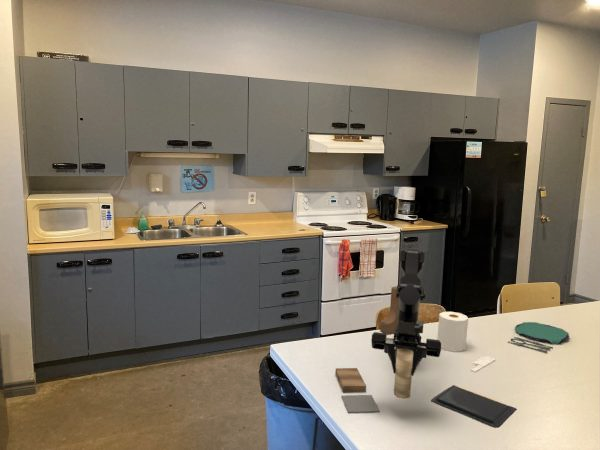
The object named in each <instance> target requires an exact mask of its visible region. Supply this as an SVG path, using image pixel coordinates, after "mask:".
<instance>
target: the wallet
mask: <svg viewBox="0 0 600 450" xmlns="http://www.w3.org/2000/svg"><path fill="white" fill-rule="evenodd" d="M430 402H431V403H433V404H436V405H438V406H440V407H443V408H446V409H447V410H450V411H453V412H456V413H458V414H459V415H460V414H461V415H462V416H465V417H466V418H468V419H469V418H470V419H472V420H475V421H477V422H478V423H481V424H484V425H486V426H489V427H491V428H494V429H497V428H500V427H501V426H502V425H504V423H505V422H506V421H507V420H508V419H509V418H510V417H511V416H512V415H513V414H514V413H515V412H516V411H517V410H518V408H516V407H514V406H512V405H509V404H506V403H504V402H501V401H498V400H496V399H493V398H489V397H487V396H485V395H483V394H479V393H476V392H474V391H471V390H468V389H466V388H463V387H461V386H457V385H455V384H453V385H452V386H449V387H448V388H446V389H444V390H443V391H442V392H440V393H438V394H437V395H436V396H434V397H433V398H432V399H431V400H430Z"/></svg>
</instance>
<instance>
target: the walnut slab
mask: <svg viewBox="0 0 600 450" xmlns="http://www.w3.org/2000/svg"><path fill="white" fill-rule="evenodd" d="M334 374H335V376H336V380H337V382H338V384H339V387H340V389H341V391H342V393H346V394H347V393H366V392H367V385H366V383H365V380H364V379H363V377H362V375H361V373H360V371H359V369H358V368H357V367H349V368H347V367H346V368H345V367H344V368H343V367H342V368H341V367H340V368H338V367H337V368H336V367H335V373H334Z"/></svg>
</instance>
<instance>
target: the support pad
mask: <svg viewBox="0 0 600 450" xmlns="http://www.w3.org/2000/svg"><path fill="white" fill-rule="evenodd" d="M341 399H342V402H343V404H344V407H345V409H346V411H347V414H365V413H367V414H368V413H380V412H381V410H380V407H379V406H378V404H377V403H376V401H375V399H374V397H373V395H372V394H357V395H356V394H355V395H341Z"/></svg>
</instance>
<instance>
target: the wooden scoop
mask: <svg viewBox="0 0 600 450" xmlns="http://www.w3.org/2000/svg"><path fill="white" fill-rule="evenodd" d="M396 292H397V286H392V287H391V294H390V307H389V312H388V315H387V317H385V318H384V319H381V320H380V327H379V331H380V333H386V335H392V334H394V330H396V327H397V321H398V310H399V298H396Z"/></svg>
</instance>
